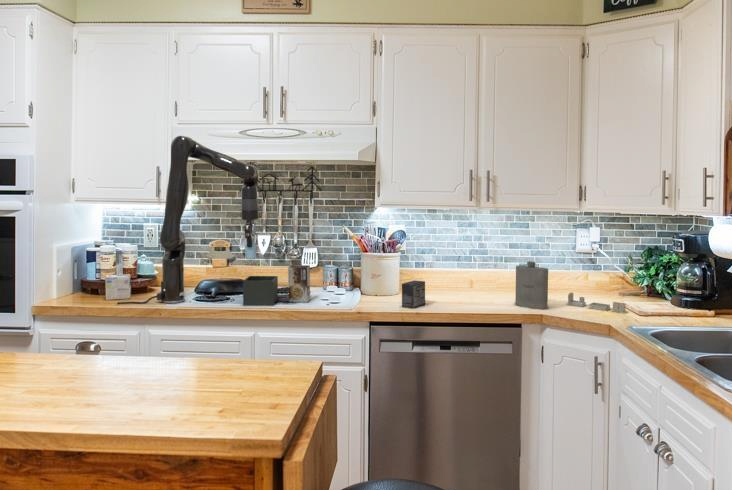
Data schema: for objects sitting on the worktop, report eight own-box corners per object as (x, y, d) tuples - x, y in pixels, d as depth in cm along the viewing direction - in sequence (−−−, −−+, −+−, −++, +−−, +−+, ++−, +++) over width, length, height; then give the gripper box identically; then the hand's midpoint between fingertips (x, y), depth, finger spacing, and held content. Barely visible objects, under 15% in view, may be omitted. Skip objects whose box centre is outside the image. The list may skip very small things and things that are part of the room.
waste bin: (243, 305, 272) (243, 280, 271) (249, 299, 285) (249, 275, 284) (272, 305, 272) (272, 280, 271) (277, 299, 285) (277, 276, 284)
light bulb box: (131, 296, 291) (130, 273, 290) (130, 298, 285) (130, 275, 284) (106, 297, 288) (106, 274, 287) (105, 300, 281) (104, 276, 281)
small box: (413, 302, 279) (413, 279, 279) (425, 304, 276) (426, 281, 275) (400, 306, 271) (401, 283, 270) (413, 308, 267) (413, 284, 266)
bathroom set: (567, 304, 276) (567, 293, 276) (571, 303, 279) (571, 291, 279) (623, 313, 259) (624, 301, 259) (627, 311, 263) (628, 299, 263)
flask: (512, 305, 275) (513, 260, 274) (518, 303, 279) (519, 259, 278) (543, 310, 265) (544, 264, 264) (549, 308, 269) (550, 262, 268)
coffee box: (310, 299, 285) (310, 265, 284) (307, 302, 278) (307, 267, 278) (291, 299, 286) (291, 264, 285) (288, 302, 279) (287, 266, 279)
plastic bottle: (244, 259, 275) (244, 236, 274) (246, 257, 280) (246, 235, 279) (255, 258, 275) (254, 236, 274) (257, 257, 280) (256, 235, 279)
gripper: (244, 208, 283) (245, 245, 284) (237, 210, 269) (238, 248, 270) (261, 208, 283) (261, 244, 284) (254, 209, 269) (255, 248, 270)
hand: (250, 246), depth 277 cm, fingers closed on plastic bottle, 4 cm apart
